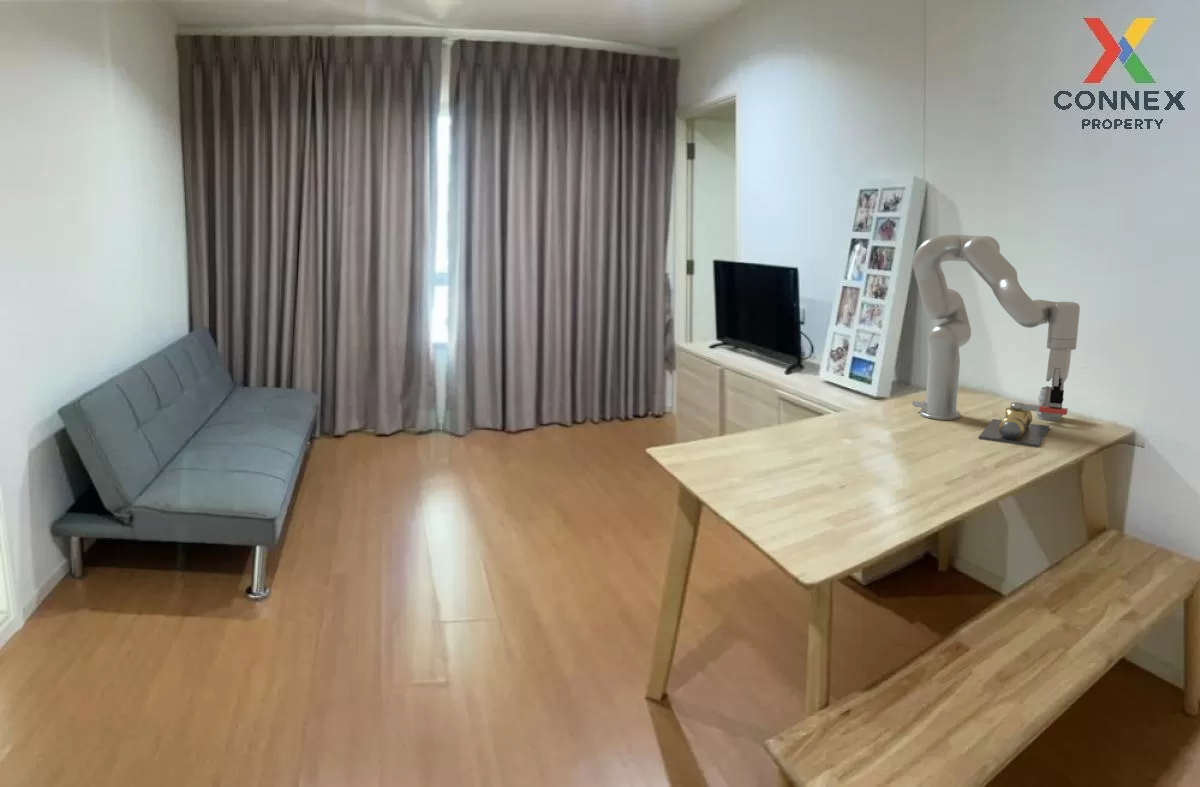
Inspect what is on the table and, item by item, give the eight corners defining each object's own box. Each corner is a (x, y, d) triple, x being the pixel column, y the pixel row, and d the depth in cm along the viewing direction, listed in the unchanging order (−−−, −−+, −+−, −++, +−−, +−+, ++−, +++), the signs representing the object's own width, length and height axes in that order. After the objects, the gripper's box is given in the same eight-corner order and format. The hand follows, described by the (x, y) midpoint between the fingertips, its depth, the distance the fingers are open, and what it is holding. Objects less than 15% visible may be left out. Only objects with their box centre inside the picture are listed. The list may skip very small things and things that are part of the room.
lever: (1009, 409, 227) (1010, 404, 227) (1011, 406, 230) (1012, 401, 229) (1065, 415, 218) (1066, 410, 218) (1067, 413, 221) (1067, 407, 221)
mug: (1064, 417, 244) (1069, 381, 241) (1055, 425, 236) (1059, 388, 233) (1038, 413, 249) (1042, 378, 246) (1028, 421, 241) (1032, 385, 238)
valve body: (978, 438, 226) (980, 414, 224) (992, 421, 242) (995, 398, 241) (1038, 447, 216) (1041, 422, 214) (1049, 428, 233) (1052, 405, 231)
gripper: (1050, 338, 230) (1045, 396, 234) (1043, 346, 218) (1038, 406, 222) (1079, 340, 225) (1073, 398, 229) (1073, 348, 214) (1067, 409, 218)
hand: (1056, 402), depth 226 cm, fingers closed
